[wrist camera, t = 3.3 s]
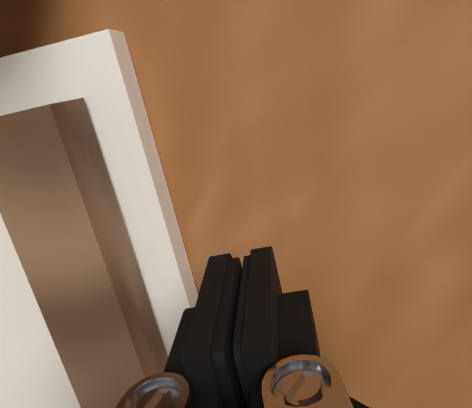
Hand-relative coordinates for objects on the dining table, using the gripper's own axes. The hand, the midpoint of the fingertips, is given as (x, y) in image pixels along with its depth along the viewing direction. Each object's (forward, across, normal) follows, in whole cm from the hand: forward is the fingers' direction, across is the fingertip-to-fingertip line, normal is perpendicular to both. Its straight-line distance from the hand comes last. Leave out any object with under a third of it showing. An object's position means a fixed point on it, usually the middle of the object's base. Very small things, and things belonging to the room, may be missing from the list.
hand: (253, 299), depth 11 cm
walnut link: (+5, +7, +3) cm, 9 cm away
